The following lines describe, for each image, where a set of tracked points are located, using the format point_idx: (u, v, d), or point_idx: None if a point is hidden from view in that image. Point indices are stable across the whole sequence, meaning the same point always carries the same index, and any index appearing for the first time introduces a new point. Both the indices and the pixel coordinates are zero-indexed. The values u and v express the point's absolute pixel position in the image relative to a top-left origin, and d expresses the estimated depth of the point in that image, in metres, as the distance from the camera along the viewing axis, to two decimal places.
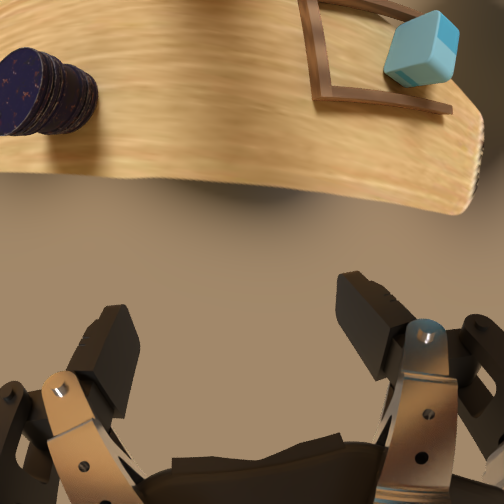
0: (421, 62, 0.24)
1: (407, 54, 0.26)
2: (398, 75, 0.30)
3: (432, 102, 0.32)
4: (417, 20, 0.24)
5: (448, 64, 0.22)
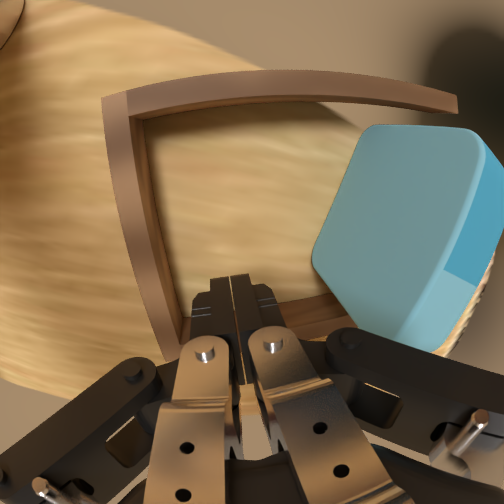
0: None
1: (357, 260, 0.16)
2: None
3: None
4: (411, 140, 0.13)
5: (441, 331, 0.11)
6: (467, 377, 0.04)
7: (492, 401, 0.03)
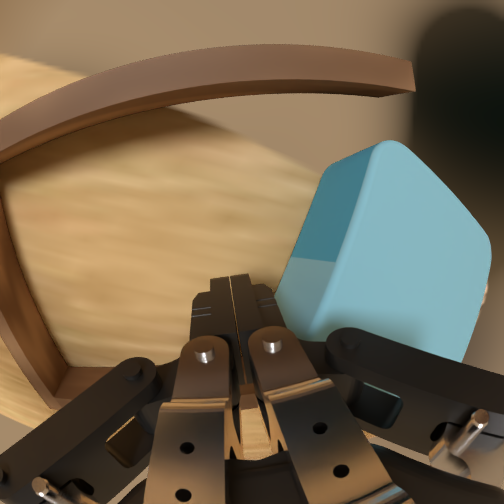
0: None
1: None
2: None
3: None
4: (459, 220, 0.11)
5: None
6: (467, 377, 0.04)
7: (492, 401, 0.03)
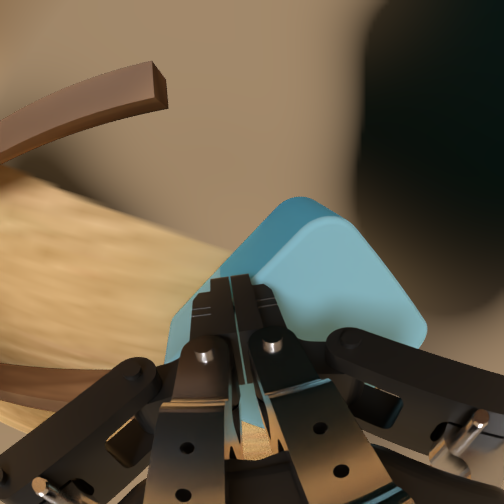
0: None
1: None
2: None
3: None
4: (389, 308, 0.13)
5: None
6: (467, 377, 0.04)
7: (492, 401, 0.03)
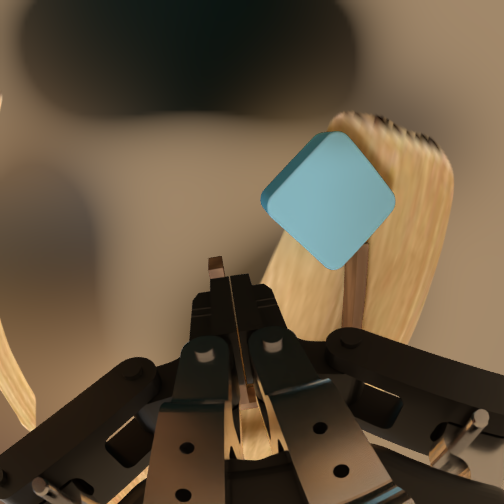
0: (390, 212, 0.29)
1: (357, 221, 0.29)
2: None
3: (358, 284, 0.34)
4: (313, 168, 0.27)
5: None
6: (467, 377, 0.04)
7: (492, 401, 0.03)
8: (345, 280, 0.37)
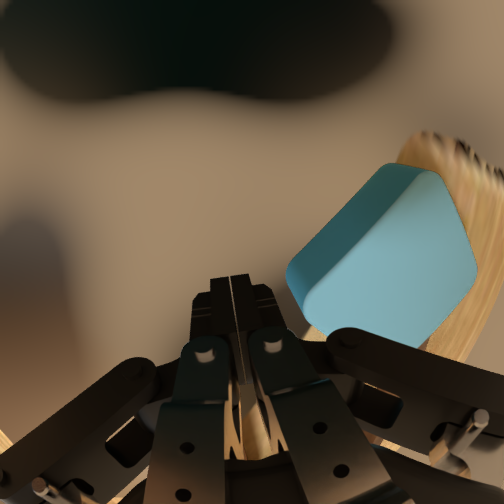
0: (468, 291, 0.17)
1: (429, 311, 0.17)
2: None
3: None
4: (388, 239, 0.14)
5: None
6: (467, 376, 0.04)
7: (492, 401, 0.03)
8: None
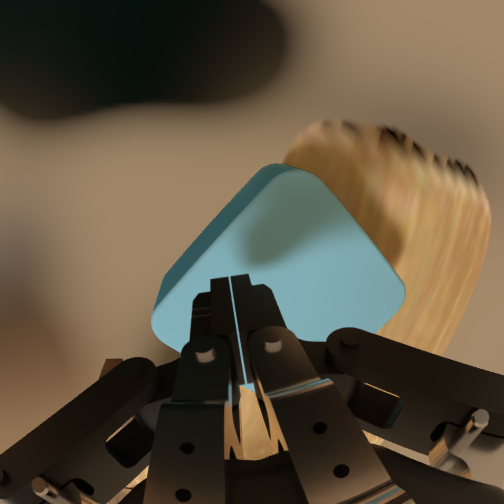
0: (393, 315, 0.16)
1: None
2: None
3: None
4: (234, 258, 0.13)
5: None
6: (467, 377, 0.04)
7: (492, 401, 0.03)
8: None
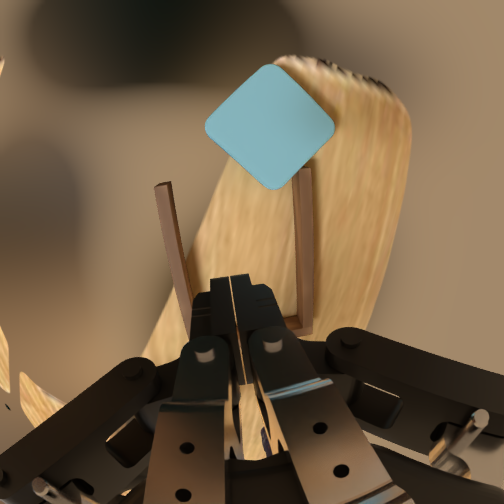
0: (329, 136, 0.31)
1: (293, 142, 0.30)
2: None
3: (304, 211, 0.35)
4: (246, 93, 0.28)
5: None
6: (467, 376, 0.04)
7: (492, 401, 0.03)
8: (294, 212, 0.38)
